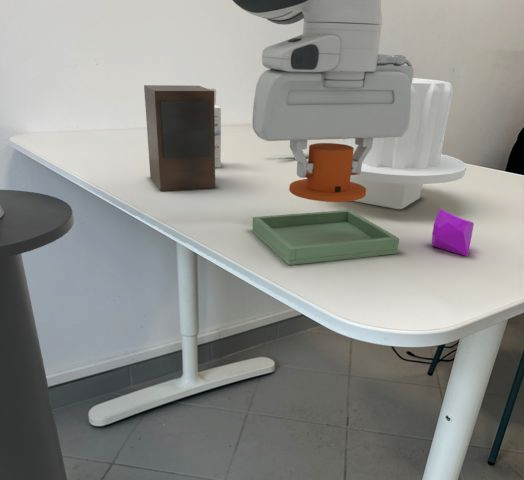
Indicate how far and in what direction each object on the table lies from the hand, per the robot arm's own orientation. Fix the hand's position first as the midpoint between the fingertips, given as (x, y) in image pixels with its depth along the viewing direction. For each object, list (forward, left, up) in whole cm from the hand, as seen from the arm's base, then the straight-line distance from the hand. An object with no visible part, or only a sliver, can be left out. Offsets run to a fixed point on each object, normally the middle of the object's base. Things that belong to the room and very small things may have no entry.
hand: (328, 175), depth 69 cm
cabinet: (-11, +37, -9) cm, 40 cm away
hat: (0, 0, -2) cm, 2 cm away
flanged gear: (+21, +18, -9) cm, 29 cm away
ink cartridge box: (-4, +51, -9) cm, 52 cm away
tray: (0, 0, -9) cm, 9 cm away
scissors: (+23, +55, -9) cm, 60 cm away
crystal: (+16, -7, -9) cm, 20 cm away
